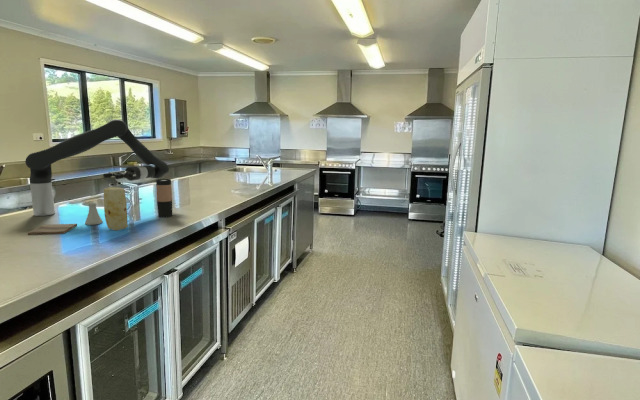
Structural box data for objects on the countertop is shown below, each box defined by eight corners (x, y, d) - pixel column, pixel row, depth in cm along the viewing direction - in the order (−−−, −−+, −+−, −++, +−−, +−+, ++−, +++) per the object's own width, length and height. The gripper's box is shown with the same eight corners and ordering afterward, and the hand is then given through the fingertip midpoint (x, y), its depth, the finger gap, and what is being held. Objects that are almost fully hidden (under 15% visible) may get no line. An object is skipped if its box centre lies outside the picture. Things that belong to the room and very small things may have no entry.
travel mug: (154, 216, 200) (152, 180, 196) (165, 213, 207) (163, 178, 203) (165, 218, 197) (163, 181, 193) (176, 215, 204) (174, 179, 200)
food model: (130, 227, 177) (127, 186, 173) (125, 231, 170) (122, 188, 167) (108, 227, 176) (105, 186, 172) (102, 231, 169) (99, 188, 165)
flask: (94, 225, 178) (92, 205, 176) (81, 224, 180) (79, 204, 178) (105, 222, 185) (104, 202, 183) (93, 221, 186) (91, 202, 185)
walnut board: (43, 226, 174) (43, 224, 174) (77, 225, 177) (76, 223, 177) (27, 234, 161) (27, 232, 160) (64, 233, 164) (63, 231, 164)
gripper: (126, 165, 204) (99, 168, 190) (145, 166, 199) (118, 169, 184) (127, 179, 206) (100, 182, 191) (146, 180, 200) (120, 184, 186)
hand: (109, 176), depth 188 cm, fingers open, 8 cm apart
